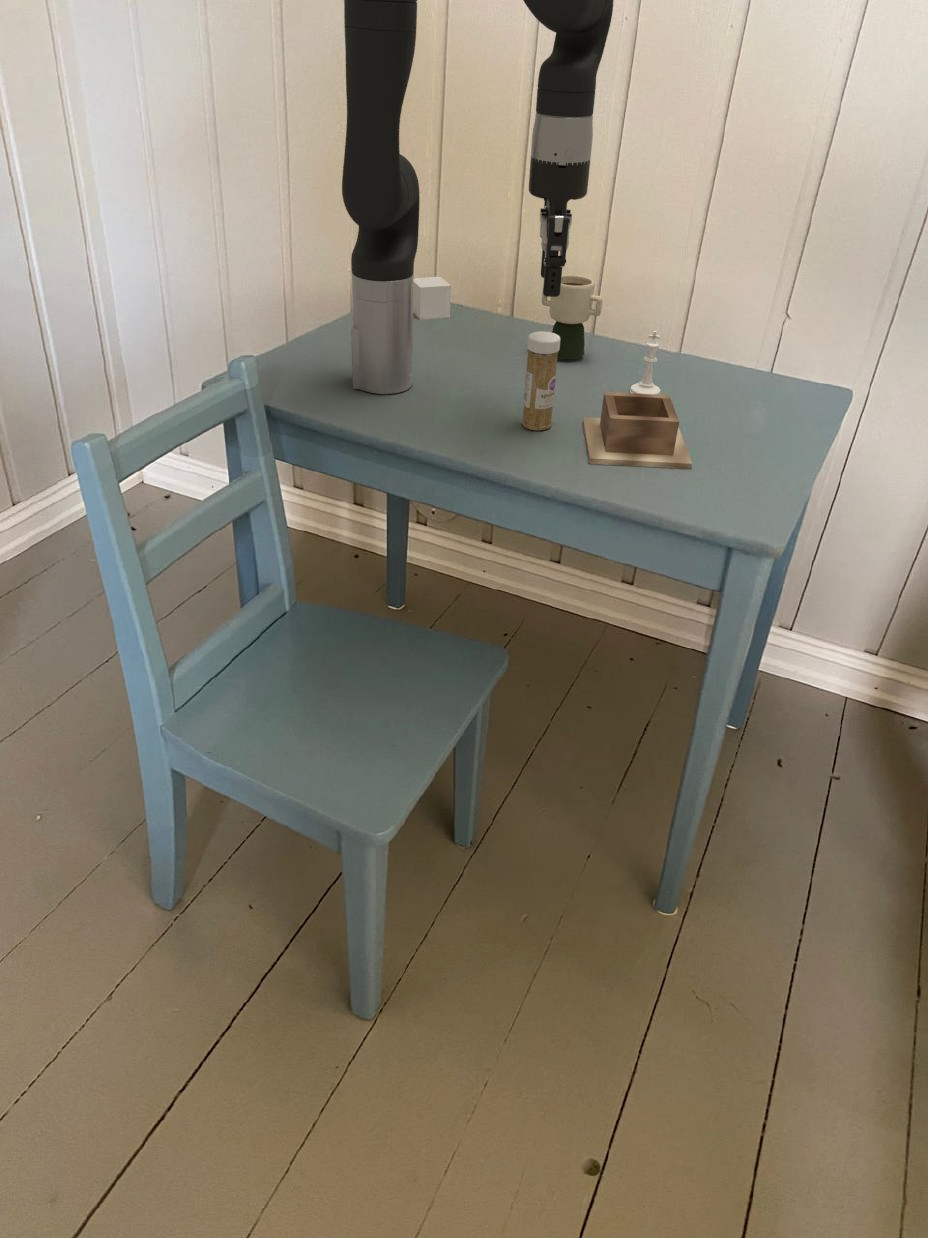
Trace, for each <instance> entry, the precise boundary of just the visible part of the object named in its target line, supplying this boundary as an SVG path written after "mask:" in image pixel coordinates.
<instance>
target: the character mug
mask: <svg viewBox="0 0 928 1238" xmlns="http://www.w3.org/2000/svg"><path fill="white" fill-rule="evenodd" d="M595 285H596V283H595V280H594V279H592V278H591V277H589V276H584V275H582V274H581V275H579V274H562V276H561V287H560V295H559V296H558V297H550V300H549V299H548V297H547V296H544V294H543V290H542V292H541V293H542V295H541V305H543V306H544V307H549V311H548V312H549V316H550V319H552V320H554V321H555V322H554V324H553V326H552V330H551V333H555V334H557V335H558V336H559V337H560V349H559V351H558V356H557V359H562V360H565V359H566V360H572V359H576V358H579V357H583V356H584V355H585V326H584V323H586V322H588V321H589V319H590V317H591V316H593V317H594V316H595V317H600V316H601V314H602V308H603V297H602V296H600V295H595V293H594V291H595ZM594 302H596V305H595V309H593V305H594V304H593V303H594Z"/></svg>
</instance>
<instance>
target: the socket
mask: <svg viewBox="0 0 928 1238" xmlns="http://www.w3.org/2000/svg"><path fill="white" fill-rule="evenodd" d="M601 405H602V406H601V412H600V417H588V416H587V417H585V416H583V417H582V427H583V433H584V437H585V438H584V439H585V444H586V450H587V456H588V462H589V463H588V464H589V465H590V464H591V465H607V466H610V465H611V466H626V467H627V466H629V467H643V468H645V467H648V468H662V469H663V468H666V469H685V470H686V469H688V470H691V469H692V467H693V462H692V459H691V457H690V455H689V454H690V453H689V451H688V448H687V445H686V443H685V440H684V438H683V435H682V432H681V429H680V427H679V425H680V420H679V417H678V414H677V412H676V409H675V407H674V404H673V402H672V399H671V396H670V395H669V394H661V395H654V394H635V393H630V392H612V391H604V392H603V398H602V404H601Z"/></svg>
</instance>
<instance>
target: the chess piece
mask: <svg viewBox="0 0 928 1238" xmlns="http://www.w3.org/2000/svg"><path fill="white" fill-rule="evenodd" d="M652 332H653V333H652V334H648V339H652V340H651V341H648V342H646V350H647V355H646V356H644V358H643V360H644V361H645V362H646V365H645V367H644V368H645V369H644V371H643V376H642V379H641V380H640V381H639V382H637V383H634V384H632V385H631V386H630V389H629V393H635V394H654V395H662V393H661V389H660V387H659V386H657V385H655V384H654V382H653V368H654V367H653V366H654V363H656V362H658V357H656V356H655V355H656V354H657V351H658V349H659V347H660V343H658V342H657V341H656V340H660V338H661V336H660V335H657V330H653V331H652Z"/></svg>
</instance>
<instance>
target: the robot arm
mask: <svg viewBox="0 0 928 1238" xmlns="http://www.w3.org/2000/svg"><path fill="white" fill-rule="evenodd" d="M523 2H524V4H525V6H526V7H527V9H528V10H529V11H530V13H531V14H532V16H534V17H535V19H536V20H537V21H538V22H539V23H540V24H541V25H543V26H544V27H545V28H547V30H549V31H551V32H554V33H555V36H554V41H553V42H554V43H553V46H552V52H551V53H550V55H549V56H548V57H547V58H546V59H544V61H543V62H542V63H541V65H540V69H539V73H538V79H537V89H536V90H537V92H536V103H535V104H536V105H535V115H534V116H535V117H534V118H535V119H534V123H533V127H532V133H531V134H532V136H531V148H530V150H531V151H530V164H529V180H528V192H529V194H530V195H531V196H533V197H536V198H538V199H543V201H544V204H543V208H540V210H539V223H540V225H539V237H540V238H541V242H540V247H541V249H542V250H541V252H542V253H541V263H540V264H541V265H540V276H541V278H543V285H542V286H543V288H542V291H543V294H544V296H547V298H548V297H550V298H551V297H558V296H559V295H560V287H561V276H562V275H563V268H564V267H565V266H566V264H567V259H566V256H567V251H568V248H569V245H570V244H569V243H570V229H571V227H572V223H573V222H572V221H573V218H572V217H573V215H572V213H571V209H568V203H569V201H570V200H573V201H577V200H580V199H583V198H584V197H586V195H588V189H589V187H588V186H589V177H590V169H591V168H590V167H591V158H592V149H593V148H592V147H593V140H594V139H593V137H594V127H593V120H594V116H593V115H594V108H595V98H596V97H595V96H596V88H597V76H598V75H597V74H598V70H599V67H600V63H601V61H602V58H603V55H604V51H605V47H606V43H607V40H608V35H609V31H610V28H611V22H612V19H613V11H614V10H613V9H614V0H523ZM343 5H344V6H343V9H344V13H343V14H344V15H343V19H344V44H345V45H344V46H345V47H344V48H345V50H344V51H345V86H346V87H345V89H346V90H345V91H346V95H345V96H346V130H345V131H346V133H345V141H344V144H345V145H344V156H343V164H342V165H343V166H342V167H343V168H342V175H341V176H342V177H341V179H342V180H341V194H342V195H341V196H342V200H343V204H344V205H343V206H344V207H345V210H346V211H347V214H348V216H349V217H350V219H351V220H352V221H353V222H354V223H355V224H356V225H357V226H358V231H357V237H356V241H355V245H354V247H353V249H352V252H351V256H350V259H351V260H350V262H351V263H350V264H351V265H350V266H351V267H350V269H351V293H352V294H351V296H352V326H351V329H350V339H351V341H350V343H351V344H350V345H351V375H352V377H351V378H352V389H354V390H361V391H364V392H367V393H371V394H378V395H389V394H398V393H402V392H405V391H407V390H410V389H411V387H412V386H413V384H414V383H413V378H414V313H413V289H414V273H415V271H414V265H415V259H416V257H417V256H416V255H417V252H418V245H419V244H418V243H419V229H420V227H419V223H420V186H419V185H420V184H419V179H418V175H417V173H416V170H415V167H413V165H412V163H411V162H410V160H408V159H407V158H406V157H405V156H404V155H402V154H401V153H400V124H401V115H402V110H403V104H404V100H405V96H406V93H407V87H408V84H409V81H410V75H411V72H412V67H413V62H414V57H415V51H416V42H417V41H416V39H417V26H418V25H417V23H418V22H417V19H418V0H343Z"/></svg>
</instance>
